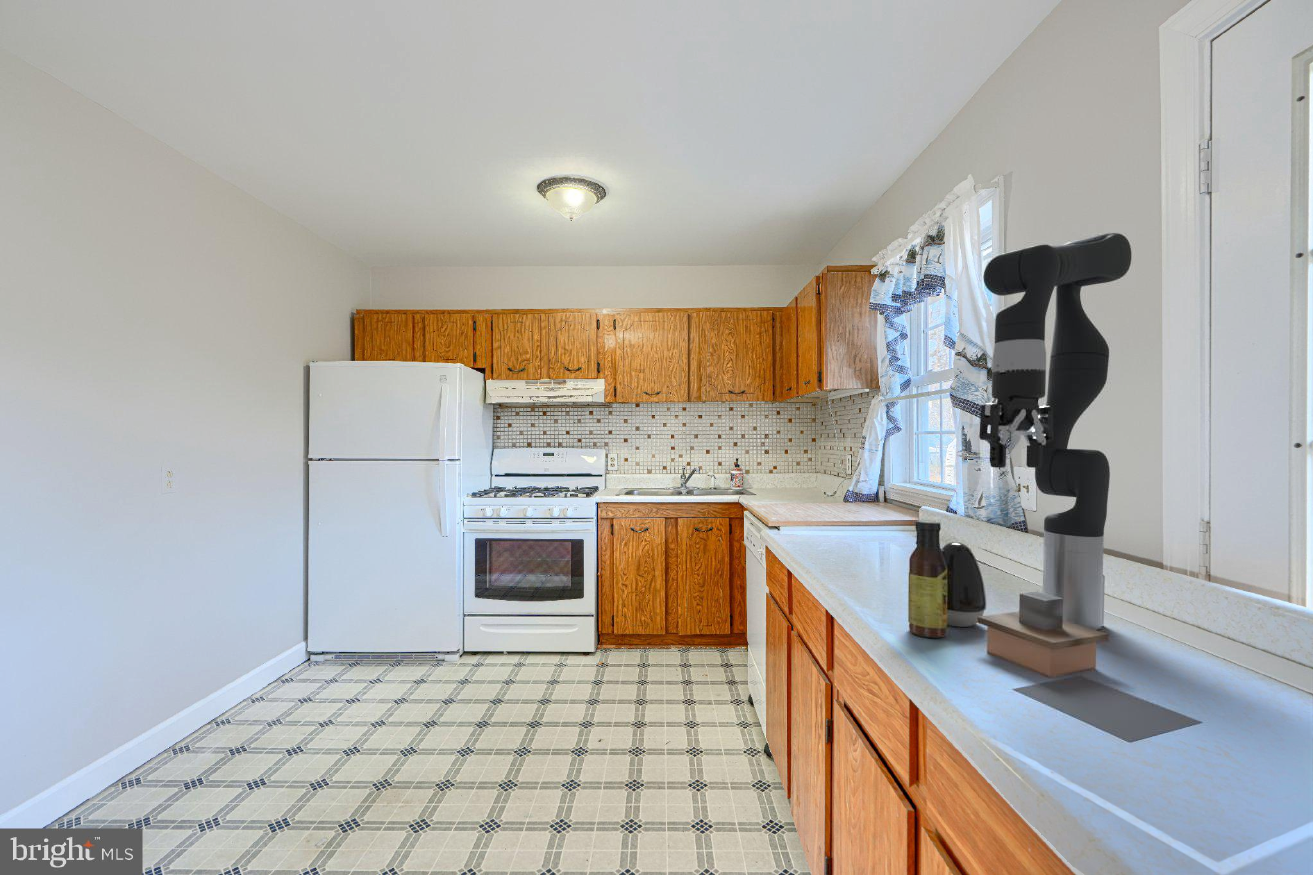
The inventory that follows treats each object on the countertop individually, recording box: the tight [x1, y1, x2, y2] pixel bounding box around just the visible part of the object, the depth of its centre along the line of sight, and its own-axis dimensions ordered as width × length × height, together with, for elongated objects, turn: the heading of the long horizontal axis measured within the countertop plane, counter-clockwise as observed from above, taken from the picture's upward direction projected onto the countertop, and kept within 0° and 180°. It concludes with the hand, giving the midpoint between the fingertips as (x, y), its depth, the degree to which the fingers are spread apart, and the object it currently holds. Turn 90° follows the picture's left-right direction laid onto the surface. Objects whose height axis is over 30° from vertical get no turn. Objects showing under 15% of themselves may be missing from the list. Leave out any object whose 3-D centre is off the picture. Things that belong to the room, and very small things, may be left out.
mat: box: [1012, 675, 1203, 743], centre depth 73 cm, size 14×14×1 cm
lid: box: [977, 591, 1109, 650], centre depth 87 cm, size 12×12×6 cm
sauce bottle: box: [907, 519, 948, 639], centre depth 100 cm, size 7×6×20 cm
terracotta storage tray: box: [986, 626, 1097, 679], centre depth 87 cm, size 10×10×5 cm
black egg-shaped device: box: [941, 541, 988, 628], centre depth 106 cm, size 10×10×15 cm
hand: (1016, 467), depth 93 cm, fingers open, 8 cm apart
